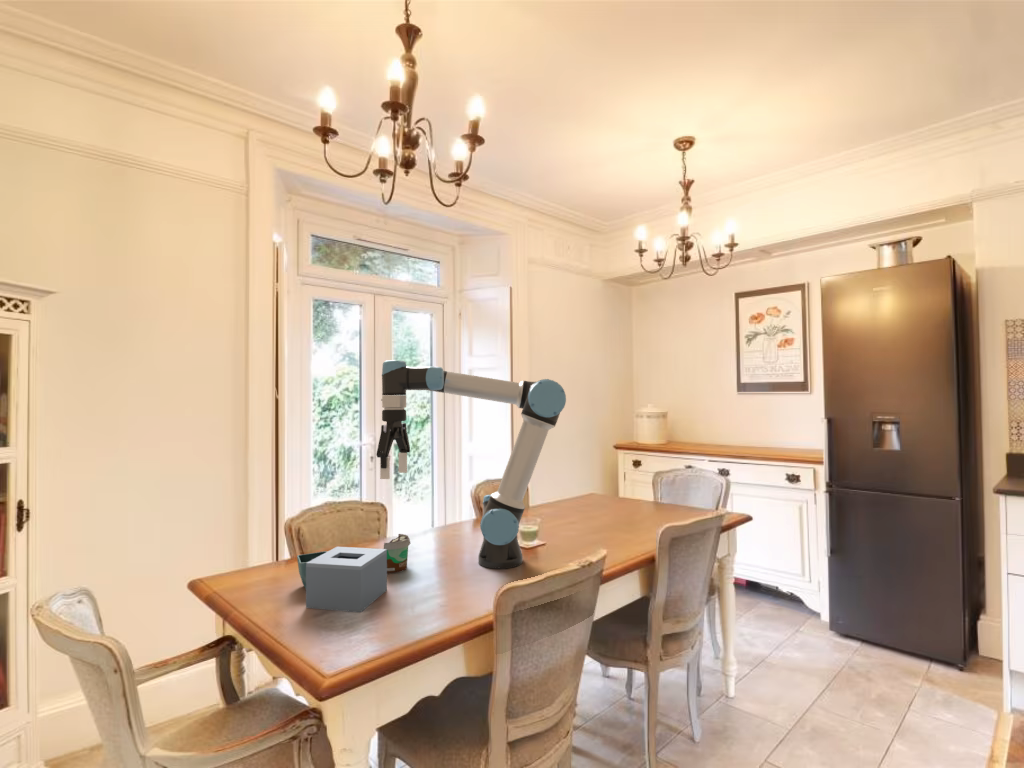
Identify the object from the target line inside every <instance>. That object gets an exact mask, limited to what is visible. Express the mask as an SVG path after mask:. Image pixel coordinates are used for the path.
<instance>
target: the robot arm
mask: <svg viewBox="0 0 1024 768" xmlns="http://www.w3.org/2000/svg"><path fill="white" fill-rule="evenodd" d="M381 386H382V387H381V397H382V398H381V399H380V401H381V406H382V408H383V409H382V410H381V421H382V422H385V423H386V424H381V427H380V436H379V440H378V445H377V450H376V453H375V454H376V457H377V458H379V462H380V463H379V465H380V467H379V469H380V470H379V471H380V472H379V477H380V479H381V480H390V477H391V476H390V475H391V474H390V473H391V472H390V470H391V468H390V464H391V463H390V462H391V461H390V456H389V455H390V452H391V450H392V449H391V448H392V446H393V442H394V441H395V442H396V445H397V448H398V451H399V452H398V473H402V474H407V473H408V453H410V452H411V445H410V441H409V437H408V436H409V435H408V432H407V431H408V430H407V423H406V422H405V421H406V420H407V410H406V409H405V408H407V391H429V392H437V393H444V394H449V395H456V396H462V397H468V398H473V399H480V400H485V401H491V402H499V403H504V404H511V405H515V406H516V407H517V408H518V409H522V411H521V413H520V416H521V417H522V424H521V427H520V429H519V431H518V435H517V438H516V440H515V443H514V445H513V448H512V451H511V454H510V456H509V458H508V461H507V465H506V467H505V469H504V473H503V475H502V478H501V481H500V483H499V486H498V488H497V490H496V491H494V492H492V493H491V494H486V495H484V496H483V501H482V507H483V510H482V517H481V520H480V524H479V525H480V526H479V527H480V531H481V534H482V537H483V540H482V542H481V543H482V544H481V546H480V550H479V553H478V559H477V560H478V564H479V565H480V566H481V567H485V568H487V569H488V568H489V569H499V570H500V569H510V568H515V567H518V566H520V565H522V564H523V560H524V558H523V553H522V549H521V546H520V543H519V539H518V534H519V528H520V526H519V525H520V523H521V519H522V517H523V514H524V511H525V509H526V506H525V503H524V502H523V501H524V498H525V495H526V492H527V490H528V487H529V484H530V482H531V479H532V476H533V473H534V471H535V468H536V465H537V464H538V460H539V457H540V455H541V452H542V449H543V446H544V444H545V441H546V438H547V436H548V433H549V430H551V429H553V428H555V427H556V425H557V423H558V420H559V417H560V415H561V412H562V411H563V410H564V408H565V406H566V403H567V395H566V392H565V389H564V387H563V386H562V385H561V384H560V383H559V382H557V381H555V380H554V379H549V378H547V379H546V378H544V379H543V378H542V379H540V380H538V381H529V380H521V381H520V382H516V381H510V380H509V381H508V380H503V379H498V378H492V377H491V378H490V377H486V376H485V377H483V376H478V375H471V374H465V373H459V372H453V371H446V370H444V369H443V367H441V366H433V365H430V366H408V364H407V362H406V361H405V360H396V359H395V360H394V359H391V360H385V361H383V363H382V371H381Z"/></svg>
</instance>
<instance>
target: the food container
mask: <svg viewBox="0 0 1024 768" xmlns="http://www.w3.org/2000/svg"><path fill="white" fill-rule="evenodd" d="M410 545H411V539H410V537H409V535H407V534H403V533H398V537H397V536H396V538H393V539H391V540H389V542H384V543H383V549H387V574H396V573H400V572H403V571H405V570H407V569H408V557H409V546H410Z"/></svg>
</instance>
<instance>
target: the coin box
mask: <svg viewBox="0 0 1024 768" xmlns="http://www.w3.org/2000/svg"><path fill="white" fill-rule="evenodd" d="M387 591H388V573H387V549H384V548H371V547H369V548H368V547H351V546H335V547H334V548H332V549H330V550H328V551H327V552H326V553H324V554H322V555H320V556H318V557H316V558H315V559H313V560H311V561H309V562H307V563H306V589H305V608H306V609H317V610H327V611H328V610H329V611H342V612H343V611H344V612H354V613H362V612H363V611H364V610H365V609H367V607H369V606H370V605H371V604H372V603H374V602H375V601H376V600H377V599H379V597H381V596H382V595H383V594H384V593H386V592H387Z"/></svg>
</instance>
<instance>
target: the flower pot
mask: <svg viewBox="0 0 1024 768" xmlns="http://www.w3.org/2000/svg"><path fill="white" fill-rule="evenodd" d="M326 552H328V551H327V550H324V551H318V552H310V553H302V554H298V555H296V559H297V566H298V573H299V577H300V579H301V583H302V585H303V587H304V588H305V590H306V563H307V562H309V561H311V560H313V559H315V558H316V557H318V556H320V555H322V554H324V553H326Z"/></svg>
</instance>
